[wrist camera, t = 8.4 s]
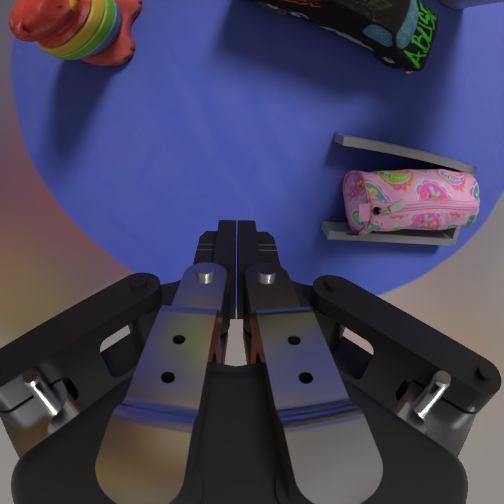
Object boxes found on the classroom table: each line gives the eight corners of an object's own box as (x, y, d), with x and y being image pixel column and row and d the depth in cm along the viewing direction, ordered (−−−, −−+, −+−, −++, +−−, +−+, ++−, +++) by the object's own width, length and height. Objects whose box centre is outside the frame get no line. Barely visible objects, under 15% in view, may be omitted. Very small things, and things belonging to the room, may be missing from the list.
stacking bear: (133, 64, 28) (59, 43, 13) (68, 73, 27) (-21, 73, 12) (145, -7, 23) (88, -63, 8) (79, 6, 22) (2, -24, 7)
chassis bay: (334, 132, 34) (344, 136, 31) (463, 162, 36) (476, 167, 33) (321, 228, 41) (327, 239, 38) (443, 236, 43) (454, 246, 40)
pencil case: (334, 222, 41) (357, 252, 33) (336, 160, 36) (363, 177, 28) (446, 216, 41) (478, 240, 33) (453, 164, 37) (490, 181, 29)
